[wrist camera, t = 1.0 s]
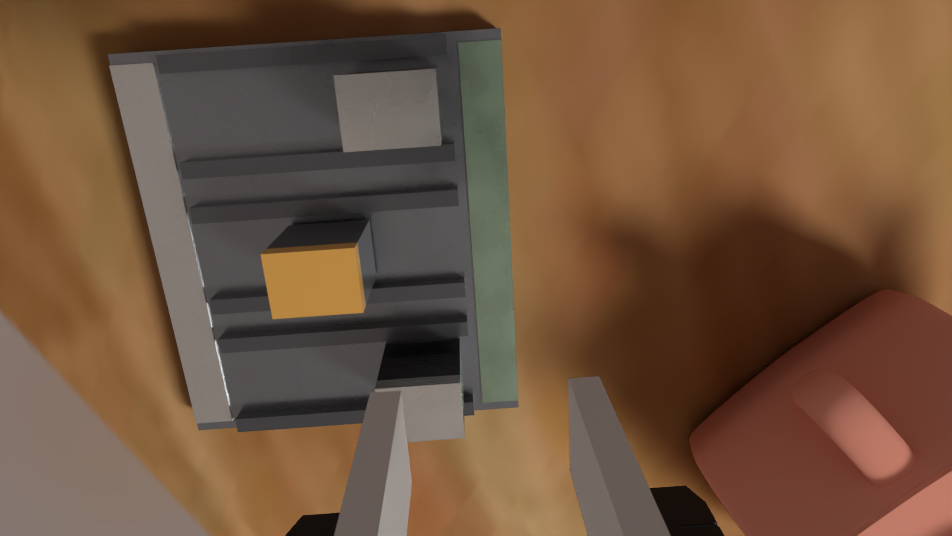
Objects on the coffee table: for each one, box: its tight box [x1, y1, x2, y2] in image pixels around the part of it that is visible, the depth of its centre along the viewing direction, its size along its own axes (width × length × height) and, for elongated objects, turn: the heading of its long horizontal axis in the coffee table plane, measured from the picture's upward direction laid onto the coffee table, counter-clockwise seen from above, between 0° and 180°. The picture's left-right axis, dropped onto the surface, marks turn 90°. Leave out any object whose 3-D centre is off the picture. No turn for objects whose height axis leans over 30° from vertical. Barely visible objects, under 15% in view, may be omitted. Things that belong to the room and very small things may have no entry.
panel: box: [108, 28, 518, 442], centre depth 30 cm, size 20×18×6 cm
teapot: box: [689, 289, 952, 536], centre depth 31 cm, size 20×22×14 cm
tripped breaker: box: [261, 220, 376, 319], centre depth 29 cm, size 3×4×5 cm
